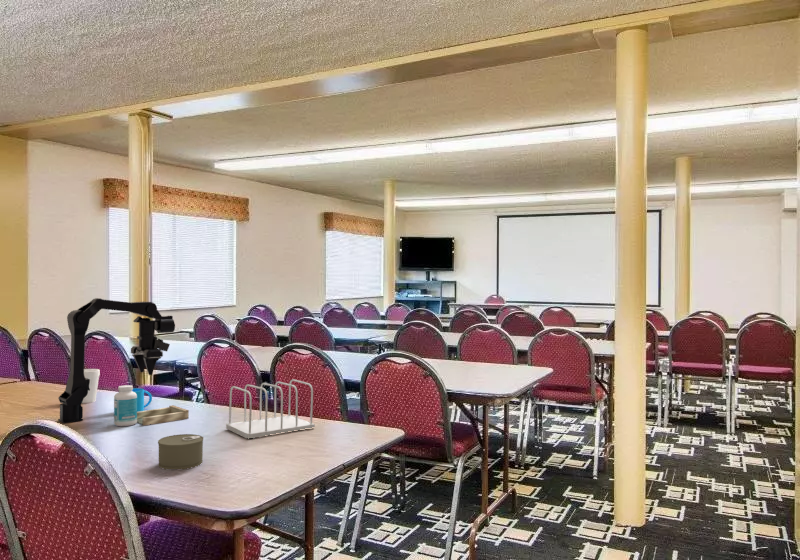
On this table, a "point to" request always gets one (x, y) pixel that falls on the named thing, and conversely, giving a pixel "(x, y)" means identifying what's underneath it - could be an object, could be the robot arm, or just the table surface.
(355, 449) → the table surface
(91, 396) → the foam cup
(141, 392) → the mug
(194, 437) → the can
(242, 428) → the file sorter
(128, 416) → the pill bottle
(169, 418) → the cradle
